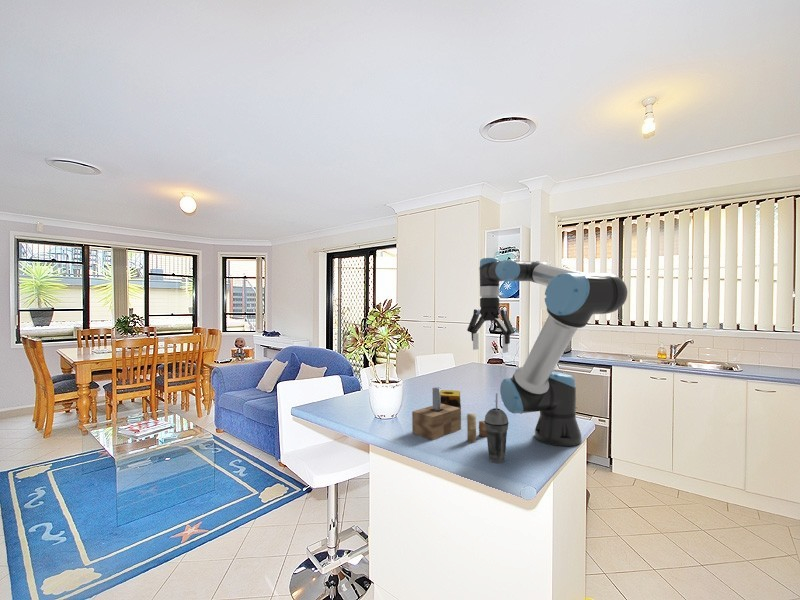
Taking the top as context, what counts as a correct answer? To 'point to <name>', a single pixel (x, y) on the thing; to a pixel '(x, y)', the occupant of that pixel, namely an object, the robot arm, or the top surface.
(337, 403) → the top surface
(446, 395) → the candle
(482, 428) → the short pin
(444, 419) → the hole block
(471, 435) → the medium pin
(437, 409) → the long pin
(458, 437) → the top surface
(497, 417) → the beverage cup
